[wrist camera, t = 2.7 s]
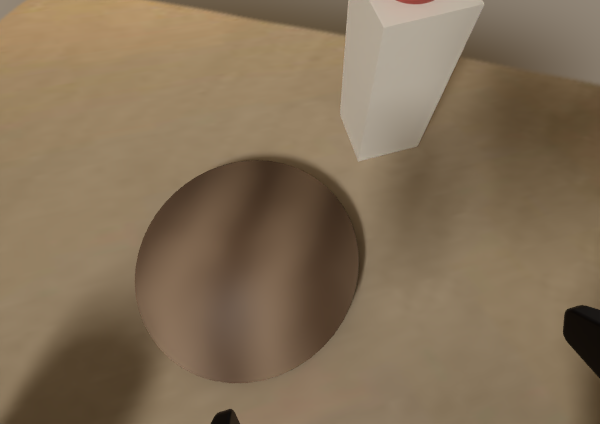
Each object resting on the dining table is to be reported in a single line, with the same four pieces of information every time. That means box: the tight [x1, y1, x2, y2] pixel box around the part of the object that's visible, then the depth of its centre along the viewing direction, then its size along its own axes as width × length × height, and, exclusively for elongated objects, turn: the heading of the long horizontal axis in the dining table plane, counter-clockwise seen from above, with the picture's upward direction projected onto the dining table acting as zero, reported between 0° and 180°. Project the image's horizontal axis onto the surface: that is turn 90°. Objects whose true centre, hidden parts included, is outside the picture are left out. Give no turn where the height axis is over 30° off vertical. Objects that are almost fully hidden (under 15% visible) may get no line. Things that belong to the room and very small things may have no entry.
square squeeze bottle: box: [340, 0, 484, 161], centre depth 21 cm, size 5×5×14 cm
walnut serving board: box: [135, 160, 359, 383], centre depth 23 cm, size 16×16×1 cm
